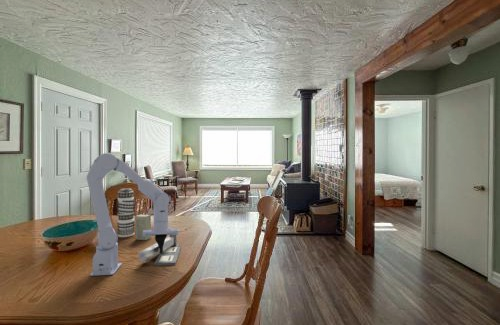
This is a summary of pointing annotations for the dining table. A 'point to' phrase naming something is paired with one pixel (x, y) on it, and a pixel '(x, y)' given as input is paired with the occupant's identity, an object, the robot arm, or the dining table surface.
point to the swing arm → (155, 249)
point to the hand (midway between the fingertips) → (161, 252)
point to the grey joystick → (174, 241)
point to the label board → (168, 256)
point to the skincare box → (142, 226)
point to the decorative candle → (125, 213)
